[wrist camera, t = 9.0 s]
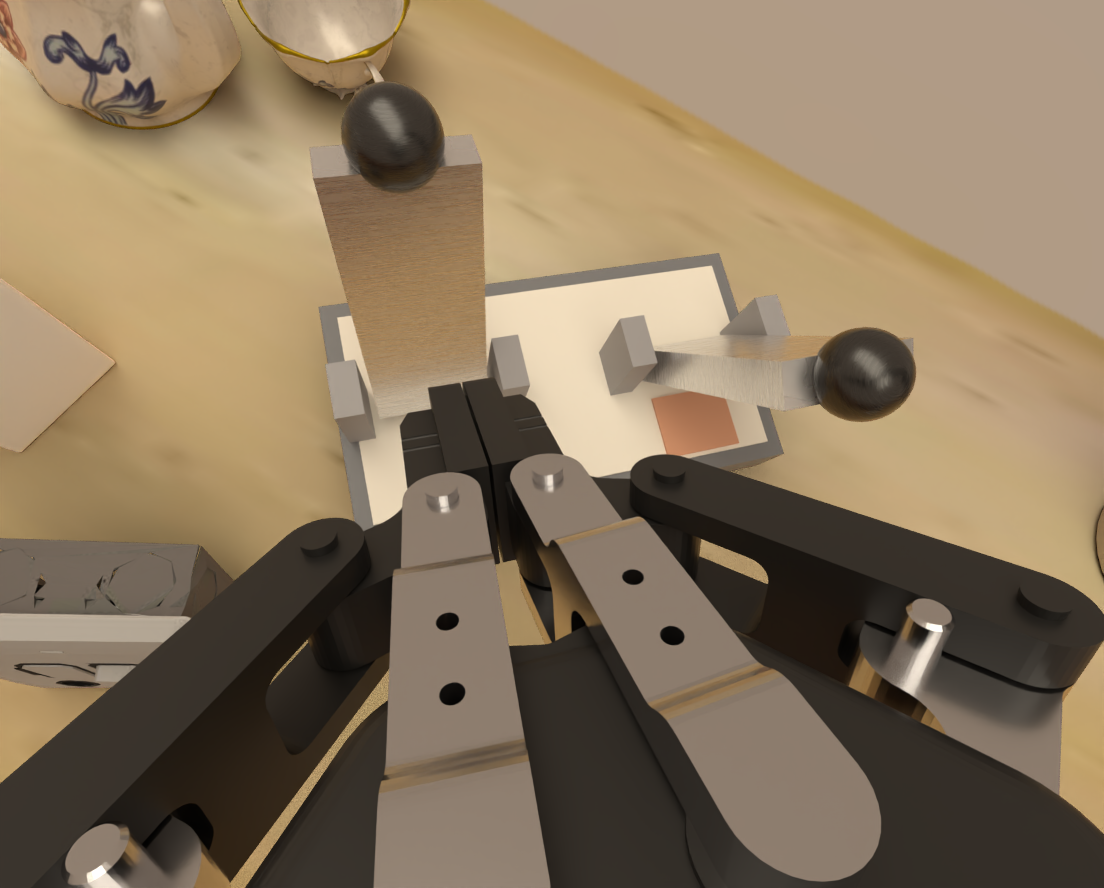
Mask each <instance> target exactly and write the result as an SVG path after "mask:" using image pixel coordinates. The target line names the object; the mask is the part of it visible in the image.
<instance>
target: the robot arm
mask: <svg viewBox="0 0 1104 888" xmlns="http://www.w3.org/2000/svg"><path fill="white" fill-rule="evenodd" d="M462 389H463V390H462ZM428 394H429V400H430V405H431V409H428V410H422V411H416V412H410V413H407V415H406V416H405V418H404V420H403V421H402V423H401V424H400V434H401V441H402V450H403V458H404V466H405V474H406V483H407V490H406V492H405V494H404V496H403V501H402V508H401V509H400V510H399V511H398V512H397V513H396V514H395V515H394V516H393V517H391V518H390V519H388V520H386V521H385V522H383V523H381V524H379V525H377V526H374V527H372V528H369V529H367V530H365V531H363V529H362V528H361V527H360V526H359V525H358V524H357V523H355V522H354V521H351V520H348V519H343V518H327V519H321V520H317V521H313V522H311V523H308V524H305V525H303V526H301V527H299V528H297V529H296V530H294V531H293V532H291V533H290V534H289V535H287V536H286V537H285V538H284V539H283V540H281V541H280V542H279V543H278V544H277V545H276V546H275V547H273V548H272V549H271V550H270V551H269V552H268V553H266V554H265V555H264V556H263V557H262V558H261V559H259V560H258V561H257V562H256V563H255V564H254V565H253V566H251V567H250V568H249V569H248V570H247V571H246V572H244V573H243V574H242V575H241V576H240V577H239V578H238V579H236V580H235V581H234V582H233V583H232V584H231V585H229V586H228V587H227V588H226V589H225V590H224V591H222V592H221V593H220V594H219V595H218V596H217V597H216V598H214V599H213V600H212V601H211V602H210V603H209V604H207V605H206V606H205V607H204V608H203V609H202V610H200V611H199V612H198V613H197V614H196V615H195V616H194V617H192V618H191V619H190V620H189V621H188V622H187V623H185V624H184V625H183V626H182V627H181V628H180V629H179V630H177V631H176V632H175V633H174V634H173V635H172V636H170V637H169V638H168V639H167V640H166V641H165V642H163V643H162V644H161V645H160V646H159V647H158V648H157V649H155V650H154V651H153V652H152V653H151V654H150V655H148V656H147V657H146V658H145V659H144V660H143V661H141V662H140V663H139V664H138V665H137V666H136V667H135V668H133V669H132V670H131V671H130V672H129V673H128V674H126V675H125V676H124V677H123V678H122V679H121V680H120V681H118V682H117V683H116V684H115V685H114V686H113V687H111V688H110V689H109V690H108V691H107V692H106V693H104V694H103V695H102V696H101V697H100V698H99V699H98V700H96V701H95V702H94V703H93V704H92V705H91V706H89V707H88V708H87V709H86V710H85V711H84V712H82V713H81V714H80V715H79V716H78V717H77V718H76V719H74V720H73V721H72V722H71V723H70V724H69V725H67V726H66V727H65V728H64V729H63V730H62V731H61V732H59V733H58V734H57V735H56V736H55V737H54V738H52V739H51V740H50V741H49V742H48V743H47V744H45V745H44V746H43V747H42V748H41V749H40V750H39V751H37V752H36V753H35V754H34V755H33V756H32V757H30V758H29V759H28V760H27V761H26V762H25V763H23V764H22V765H21V766H20V767H19V768H18V769H17V770H15V771H14V772H13V773H12V774H11V775H10V776H8V777H7V778H6V779H5V780H4V781H3V782H2V783H0V888H231V885H230V882H231V881H232V880H233V878H234V877H235V875H236V874H237V873H238V871H239V870H240V869H241V867H242V866H243V865H244V863H245V862H246V861H247V859H248V858H249V857H250V855H251V854H252V853H253V851H254V850H255V849H256V847H257V846H258V845H259V843H260V842H261V840H262V839H263V838H264V836H265V835H266V834H267V832H268V831H269V830H270V828H271V827H272V826H273V824H274V823H275V822H276V820H277V819H278V818H279V816H280V815H281V814H282V812H283V811H284V810H285V808H286V807H287V805H288V804H289V803H290V801H291V800H292V799H293V797H294V796H295V795H296V793H297V792H298V791H299V789H300V788H301V787H302V785H303V784H304V783H305V781H306V780H307V779H308V777H309V776H310V775H311V773H312V772H313V770H314V769H315V768H316V766H317V765H318V764H319V762H320V761H321V760H322V758H323V757H324V756H325V754H326V753H327V752H328V750H329V749H330V748H331V746H332V745H333V744H334V742H335V741H336V740H337V738H338V737H339V735H340V734H341V733H342V731H343V730H344V729H345V727H346V726H347V725H348V723H349V722H350V721H351V719H352V718H353V717H354V715H355V714H356V713H357V711H358V710H359V709H360V707H361V706H362V705H363V703H364V702H365V700H366V699H367V698H368V696H369V695H370V694H371V692H372V691H373V690H374V688H375V687H376V686H377V684H378V683H379V682H380V680H381V679H382V678H383V676H384V675H385V674H386V672H387V671H388V669H389V691H388V700H387V701H386V702H385V703H384V704H382V705H381V706H380V707H378V708H377V709H376V710H375V711H373V712H372V713H371V714H370V715H369V716H368V717H367V718H366V719H365V720H364V721H363V722H362V723H361V724H360V725H359V726H358V727H357V728H356V730H355V731H354V732H353V733H352V734H351V735H350V736H349V738H348V739H347V740H346V742H345V743H344V744H343V746H342V747H341V749H340V750H339V751H338V753H337V754H336V756H335V757H334V759H333V760H332V762H331V763H330V765H329V766H328V768H327V769H326V770H325V772H324V773H323V775H322V776H321V778H320V779H319V781H318V782H317V784H316V785H315V787H314V788H313V789H312V791H311V792H310V794H309V795H308V797H307V798H306V800H305V801H304V803H303V804H302V805H301V807H300V808H299V810H298V811H297V813H296V814H295V816H294V817H293V819H292V820H291V822H290V823H289V824H288V826H287V827H286V829H285V830H284V832H283V833H282V835H281V836H280V838H279V839H278V841H277V842H276V843H275V845H274V846H273V848H272V849H271V851H270V852H269V854H268V855H267V857H266V858H265V859H264V861H263V862H262V864H261V865H260V867H259V868H258V870H257V871H256V873H255V874H254V876H253V877H252V878H251V880H250V881H249V883H248V884H247V886H246V887H245V888H1104V834H1103V833H1102V832H1101V831H1100V830H1099V829H1098V828H1097V827H1096V826H1095V825H1094V824H1093V823H1092V822H1091V821H1090V820H1088V819H1087V818H1086V817H1085V816H1084V815H1083V814H1082V813H1081V812H1080V811H1078V810H1077V809H1076V808H1075V807H1073V806H1072V805H1071V804H1069V803H1068V802H1067V801H1066V800H1064V799H1063V798H1062V797H1060V796H1059V786H1060V756H1061V725H1062V702H1063V701H1064V699H1065V698H1066V696H1067V695H1068V693H1069V692H1070V690H1071V689H1072V687H1073V686H1074V684H1075V683H1076V681H1077V680H1078V678H1079V677H1080V675H1081V674H1082V672H1083V671H1084V669H1085V668H1086V666H1087V665H1088V663H1089V662H1090V660H1091V659H1092V657H1093V656H1094V654H1095V653H1096V651H1097V650H1098V648H1099V647H1100V645H1101V644H1102V642H1103V641H1104V614H1103V613H1102V611H1101V610H1100V609H1099V608H1098V606H1097V605H1096V604H1095V603H1094V602H1093V601H1092V600H1091V599H1089V598H1088V597H1087V596H1085V595H1084V594H1083V593H1082V592H1080V591H1078V590H1077V589H1075V588H1074V587H1072V586H1070V585H1068V584H1067V583H1065V582H1063V581H1061V580H1058V579H1056V578H1054V577H1051V576H1048V575H1046V574H1043V573H1040V572H1037V571H1034V570H1031V569H1027V568H1024V567H1021V566H1018V565H1015V564H1012V563H1009V562H1006V561H1003V560H1000V559H997V558H994V557H991V556H987V555H984V554H981V553H978V552H975V551H972V550H969V549H966V548H963V547H960V546H957V545H954V544H951V543H947V542H944V541H941V540H938V539H935V538H932V537H929V536H926V535H923V534H920V533H917V532H914V531H911V530H907V529H904V528H901V527H898V526H895V525H892V524H889V523H886V522H883V521H880V520H877V519H874V518H871V517H867V516H864V515H861V514H858V513H855V512H852V511H849V510H846V509H843V508H840V507H837V506H834V505H831V504H827V503H824V502H821V501H818V500H815V499H812V498H809V497H806V496H803V495H800V494H797V493H794V492H791V491H787V490H784V489H781V488H778V487H775V486H772V485H769V484H766V483H763V482H760V481H757V480H754V479H751V478H747V477H744V476H741V475H738V474H735V473H732V472H729V471H726V470H723V469H720V468H717V467H714V466H711V465H708V464H704V463H701V462H698V461H695V460H692V459H689V458H686V457H682V456H678V455H670V454H660V455H653V456H649V457H646V458H643V459H641V460H639V461H638V462H637V463H635V464H634V466H633V467H632V469H631V472H630V479H624V478H599V477H593V476H590V475H589V474H588V472H587V471H586V470H585V468H584V467H583V466H582V464H581V463H580V462H578V461H577V460H575V459H573V458H571V457H569V456H566V455H563V453H562V451H561V449H560V447H559V445H558V444H557V442H556V440H555V438H554V436H553V435H552V433H551V431H550V429H549V427H547V424H546V422H545V420H544V418H543V417H542V414H541V413H540V411H539V409H538V407H537V405H536V403H535V402H533V401H531V400H530V399H528V398H526V397H525V396H523V395H521V394H518V395H512V396H506V397H503V395H502V392H501V390H500V388H499V386H498V384H497V381H496V379H495V378H494V377H491V378H485V379H478V380H472V381H466V382H462V387H461V384H460V383H453V384H447V385H441V386H434V387H428ZM701 539H703V540H706V541H708V542H711V543H713V544H716V545H718V546H721V547H723V548H726V549H728V550H731V551H733V552H736V553H738V554H741V555H743V556H746V557H748V558H751V559H753V560H755V561H756V562H757V563H759V564H760V565H761V566H762V567H763V568H764V570H765V571H766V573H767V575H768V580H769V581H768V584H765V583H763V582H760V581H758V580H755V579H753V578H751V577H748V576H746V575H743V574H741V573H738V572H736V571H734V570H731V569H729V568H726V567H724V566H721V565H719V564H717V563H714V562H712V561H709V560H707V559H705V558H702V557H700V556H699V553H700V544H701ZM1096 540H1097V552H1098V557H1099V561H1100V565H1101V569H1102V571H1103V573H1104V509H1103V510H1102V513H1101V516H1100V519H1099V522H1098V527H1097V536H1096ZM498 546H499V550H500V553H501V556H502V560H503V562H507V561H511V560H517V564H518V567H519V573H520V583H521V590H522V593H523V595H524V597H525V600H526V602H527V604H528V606H529V609H530V611H531V613H532V616H533V618H534V620H535V622H536V625H537V627H538V629H539V632H540V634H541V636H542V639H543V641H544V643H545V645H526V646H509V644H508V638H507V633H506V627H505V621H504V615H503V609H502V603H501V597H500V591H499V585H498V580H497V574H496V568H495V564H499V563H500V559H499V550H498ZM306 640H308V644H307V645H306V646H305V647H304V648H303V649H302V650H301V651H300V652H299V653H298V655H297V656H296V657H295V658H294V659H293V660H292V661H291V662H290V663H289V664H288V665H287V667H286V668H285V669H284V670H283V671H282V672H281V673H280V674H279V675H278V676H277V678H276V679H275V680H274V681H273V682H272V683H271V681H272V679H273V677H274V676H275V674H276V673H277V672H278V671H279V670H280V668H281V667H282V666H283V665H284V664H285V663H286V662H287V661H288V660H289V659H290V658H291V657H292V655H293V654H294V653H295V652H296V651H297V650H298V649H299V648H300V647H301V646H302V645H303V643H304V642H305V641H306ZM270 683H271V684H270Z"/></svg>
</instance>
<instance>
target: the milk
mask: <svg viewBox="0 0 1104 888" xmlns="http://www.w3.org/2000/svg"><path fill="white" fill-rule="evenodd" d="M114 364H115V361H114V360H113V359H111V358H110V357H109V356H107V355H106V354H105V353H103V352H102V351H100V350H99V349H98V348H96V347H95V346H94V345H92V344H91V343H89V342H88V341H87V340H85V339H84V338H83V337H81V336H80V335H79V334H77V333H76V332H74V331H73V330H72V329H70V328H69V327H68V326H66V325H65V324H63V323H62V322H61V321H59V320H58V319H57V318H55V317H54V316H53V315H51V314H50V313H48V312H47V311H46V310H44V309H43V308H42V307H40V306H39V305H37V304H36V303H35V302H33V301H32V300H31V299H29V298H28V297H27V296H25V295H24V294H22V293H21V292H20V291H18V290H17V289H15V288H14V287H13V286H11V285H10V284H8V283H7V282H5V281H4V280H3V279H1V278H0V447H3V448H6V449H9V450H12V451H15V452H19V453H20V452H22V451H23V450H24V449H25V448H26V447H27V446H29V445H30V444H31V443H32V442H33V441H34V440H35V439H36V438H37V437H38V436H39V435H40V434H41V433H42V432H43V431H44V430H45V429H47V428H48V427H49V426H50V425H51V424H52V423H53V422H54V421H55V420H56V419H57V418H58V417H59V416H60V415H61V414H62V413H63V412H65V411H66V410H67V409H68V408H69V407H70V406H71V405H72V404H73V403H74V402H75V401H76V400H77V399H78V398H79V397H80V396H81V395H83V394H84V393H85V392H86V391H87V390H88V389H89V388H90V387H91V386H92V385H93V384H94V383H95V382H96V381H97V380H98V379H99V378H101V377H102V376H103V375H104V374H105V373H106V372H107V371H108V370H109V369H110V368H111V367H112V366H113V365H114Z"/></svg>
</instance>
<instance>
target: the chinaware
mask: <svg viewBox="0 0 1104 888" xmlns="http://www.w3.org/2000/svg"><path fill="white" fill-rule="evenodd" d="M238 3H239V5H240V7H241V9H242V10H243V12H244V13H245V15H246V16H247V18H248V19H249V21H250V22H251V24H252V25H253V26H254V27H255V28H256V31H257V32H258V33H259V34H260V35H261V37H262V38H263V39H264V40H265V41H266V42H267V43H268V44H269V45H270V46H272V47H273V49H274V50H275V52H276V53H277V54H278V56H279V57H280V58H281V59H282V60H283V61H284V62H285V64H286V65H287V66H288V67H290V68H291V69H292V70H293V71H294V72H295V73H297V74H298V75H299V76H301V77H302V78H304V79H306V80H308V81H309V82H311V83H313V86H321V87H323V88H324V89H326V90H328V91H330V92H333V93H335V94H337V95H338V96H339V98H340V99H343V98H344V96H345V95H346V94H349V93H352V92H354V95H355V94H356V93H357V92H358V91H359V90H361V89H362V88H364V87H366V86H368V85H367V84H366V82H368V81H369V80H371V79H372V78H373V80H374V83H376V82H381V81H384V79H383V78H382V76H381V75H380V73H379V71H380V70H381V69H382V67H383V66H384V64H385V63H386V61H387V58H388V56H389V54H390V51H391V48H392V44H393V38H394V36H395V35H396V33H397V31H398V30H399V28H400V26H401V25H402V23H403V21H404V19H405V16H406V13H407V10H408V9H409V7H410V0H238ZM0 42H1V43H2V45H3V46H4V47H5V48H6V49H7V50H8V51H9V52H10V53H11V54H12V55H13V56H15V57H16V58H17V59H18V60H19V61H20V62H21V63H22V64H23V65H24V66H25V67H26V68H27V69H28V70H29V72H30V73H31V74H32V75H33V76H34V77H35V79H36V80H37V81H38V83H39V85H40V86H41V87H42V89H43V90H44V92H45V93H46V94H47V95H48V96H49V97H51V98H52V99H53V100H55V101H56V102H58V103H60V104H63V105H66V106H69V107H73V108H78V109H82V110H83V111H84V112H86V113H87V114H89V115H90V116H92V117H94V118H95V119H97V120H100V121H102V122H104V123H107V124H110V125H113V126H117V127H122V128H127V129H140V130H145V129H157V128H163V127H168V126H171V125H174V124H177V123H180V122H182V121H185V120H187V119H189V118H190V117H192V116H194V115H195V114H197V113H198V112H199V111H201V110H202V109H203V108H204V107H205V106H206V105H207V104H208V103H209V102H210V101H211V99H212V98H213V97H214V95H215V93H216V92H217V89H218V87H219V86H220V85H221V83H222V82H223V81H224V80H225V79H226V78H227V76H228V75H229V74H230V72H231V71H232V70H233V68H234V67H235V66H236V65H237V63H238V62H239V60H240V58H241V47H240V43H239V39H238V36H237V34H236V31H235V28H234V26H233V24H232V21H231V19H230V17H229V15H228V13H227V11H226V8H225V6H224V4H223V3H222V1H221V0H0Z"/></svg>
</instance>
